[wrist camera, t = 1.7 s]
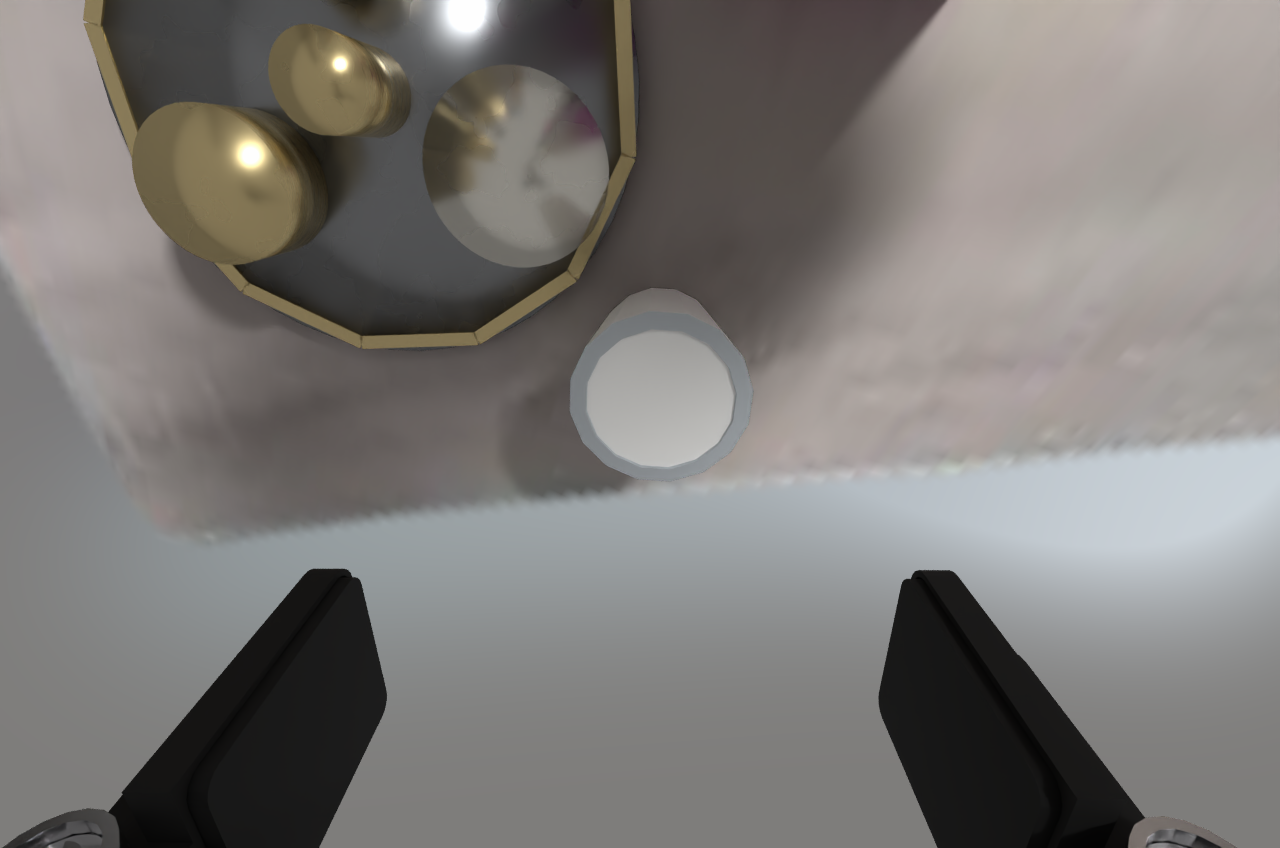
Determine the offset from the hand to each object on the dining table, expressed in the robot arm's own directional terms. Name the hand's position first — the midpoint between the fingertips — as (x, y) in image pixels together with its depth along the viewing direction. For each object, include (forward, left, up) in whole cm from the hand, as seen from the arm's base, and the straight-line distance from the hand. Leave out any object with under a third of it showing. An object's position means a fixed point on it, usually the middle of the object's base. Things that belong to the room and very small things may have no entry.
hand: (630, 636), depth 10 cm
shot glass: (-1, +1, -20) cm, 20 cm away
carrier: (+10, -10, -19) cm, 24 cm away
